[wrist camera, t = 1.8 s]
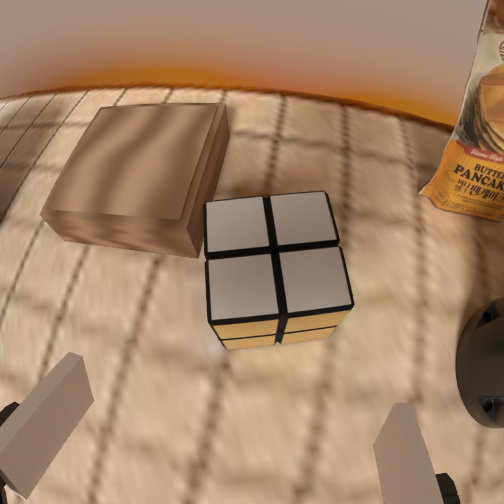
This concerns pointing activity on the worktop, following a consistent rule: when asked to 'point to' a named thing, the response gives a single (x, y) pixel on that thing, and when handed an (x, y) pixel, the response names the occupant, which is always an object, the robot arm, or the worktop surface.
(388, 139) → the worktop surface
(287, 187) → the worktop surface
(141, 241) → the block
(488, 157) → the pancake mix bag
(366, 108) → the worktop surface
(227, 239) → the puzzle cube
